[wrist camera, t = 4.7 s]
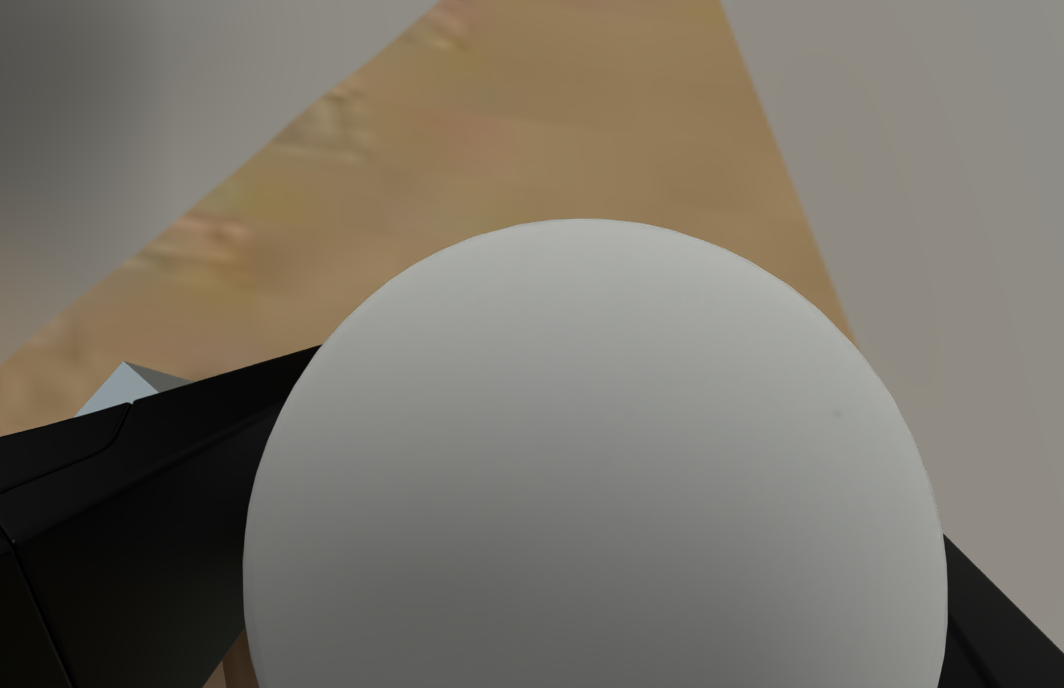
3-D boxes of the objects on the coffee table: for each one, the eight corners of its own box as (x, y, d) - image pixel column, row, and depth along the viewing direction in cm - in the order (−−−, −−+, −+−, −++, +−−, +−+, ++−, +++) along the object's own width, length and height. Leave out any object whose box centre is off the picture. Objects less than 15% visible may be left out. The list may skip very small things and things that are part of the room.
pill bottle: (724, 406, 15) (1084, 170, 4) (696, 681, 14) (1138, 1332, 3) (477, 367, 16) (269, 80, 5) (426, 624, 14) (-20, 982, 4)
